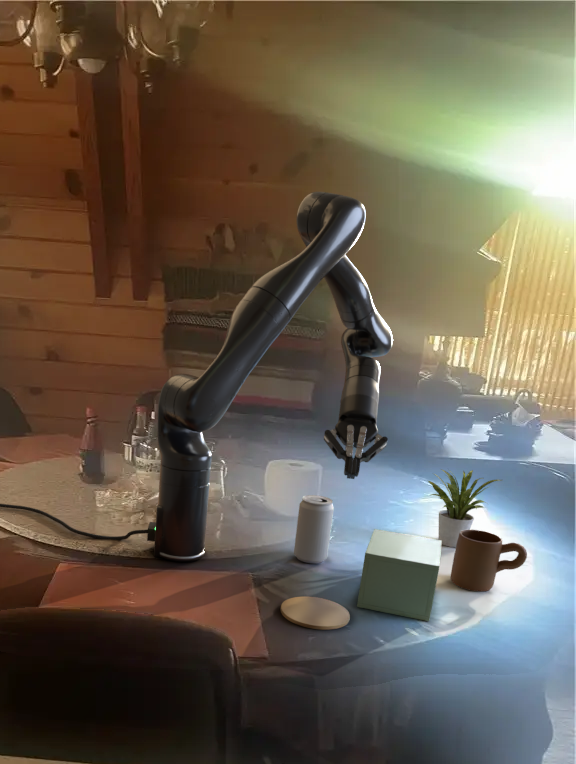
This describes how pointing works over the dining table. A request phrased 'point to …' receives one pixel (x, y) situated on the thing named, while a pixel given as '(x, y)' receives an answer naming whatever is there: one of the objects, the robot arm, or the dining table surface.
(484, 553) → the mug
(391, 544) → the cabinet
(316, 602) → the coaster
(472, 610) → the dining table surface
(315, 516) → the beverage can
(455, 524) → the house plant
